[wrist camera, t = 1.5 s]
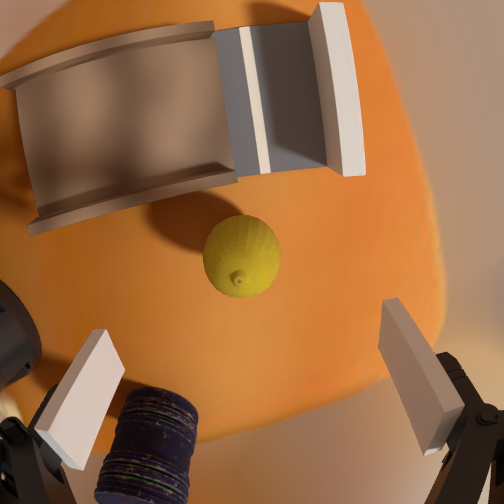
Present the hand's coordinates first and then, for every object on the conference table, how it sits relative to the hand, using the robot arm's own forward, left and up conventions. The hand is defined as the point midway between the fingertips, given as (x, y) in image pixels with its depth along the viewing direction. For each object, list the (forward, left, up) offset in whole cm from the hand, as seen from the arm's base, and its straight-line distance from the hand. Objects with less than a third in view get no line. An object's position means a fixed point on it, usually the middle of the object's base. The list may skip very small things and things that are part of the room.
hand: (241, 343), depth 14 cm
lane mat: (+4, +11, -14) cm, 18 cm away
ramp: (-7, +11, -14) cm, 19 cm away
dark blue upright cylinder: (-14, -22, -14) cm, 30 cm away
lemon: (0, 0, -14) cm, 14 cm away
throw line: (+2, +11, -14) cm, 18 cm away
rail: (+8, +11, -14) cm, 19 cm away
